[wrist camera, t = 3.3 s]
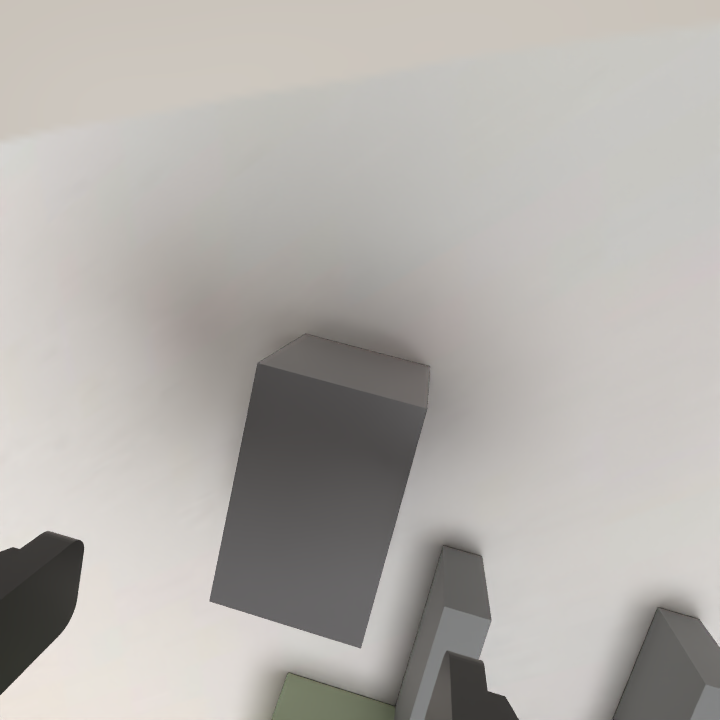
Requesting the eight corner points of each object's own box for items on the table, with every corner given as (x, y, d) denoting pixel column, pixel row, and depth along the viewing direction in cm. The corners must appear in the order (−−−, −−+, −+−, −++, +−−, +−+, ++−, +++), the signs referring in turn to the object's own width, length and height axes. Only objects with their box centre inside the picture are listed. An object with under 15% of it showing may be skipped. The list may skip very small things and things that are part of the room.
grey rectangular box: (306, 333, 22) (257, 363, 16) (430, 365, 21) (427, 408, 16) (266, 514, 24) (209, 601, 18) (380, 548, 23) (360, 648, 17)
